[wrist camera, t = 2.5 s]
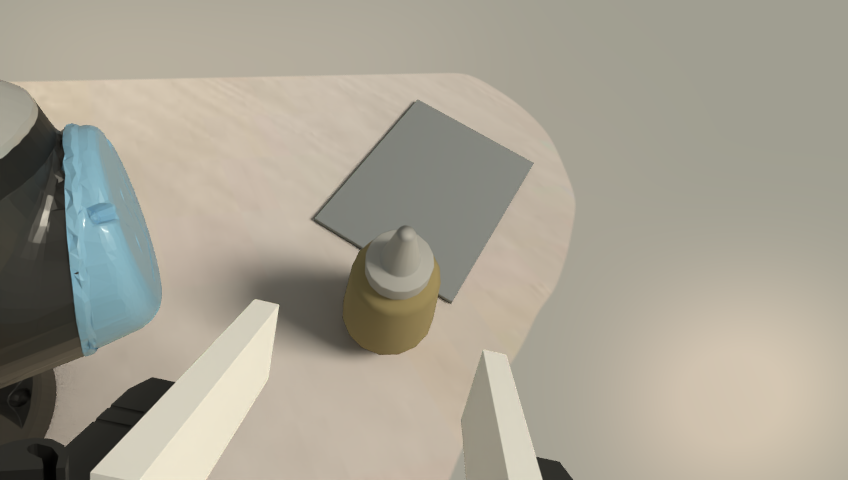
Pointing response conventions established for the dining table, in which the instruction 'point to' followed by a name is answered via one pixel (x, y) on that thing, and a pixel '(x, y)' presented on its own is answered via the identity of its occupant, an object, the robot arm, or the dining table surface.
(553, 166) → the dining table surface
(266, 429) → the dining table surface
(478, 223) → the rubber mat
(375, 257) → the squeeze bottle
